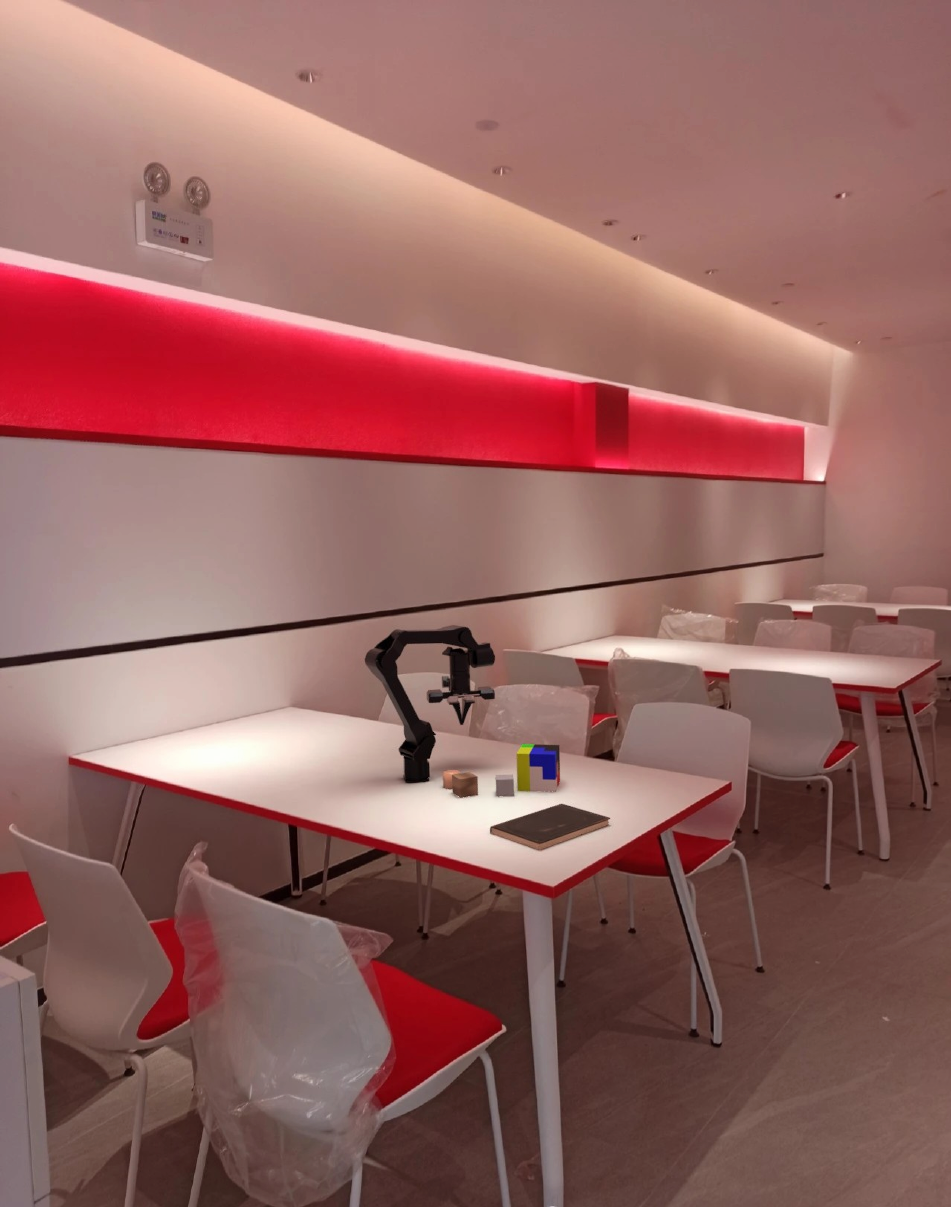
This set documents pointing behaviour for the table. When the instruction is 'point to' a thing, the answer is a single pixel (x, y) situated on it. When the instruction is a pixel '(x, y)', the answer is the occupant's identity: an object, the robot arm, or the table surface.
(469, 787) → the walnut block
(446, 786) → the terracotta cylinder
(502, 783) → the slate block
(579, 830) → the hardcover book
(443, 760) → the table surface
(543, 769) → the puzzle toy
